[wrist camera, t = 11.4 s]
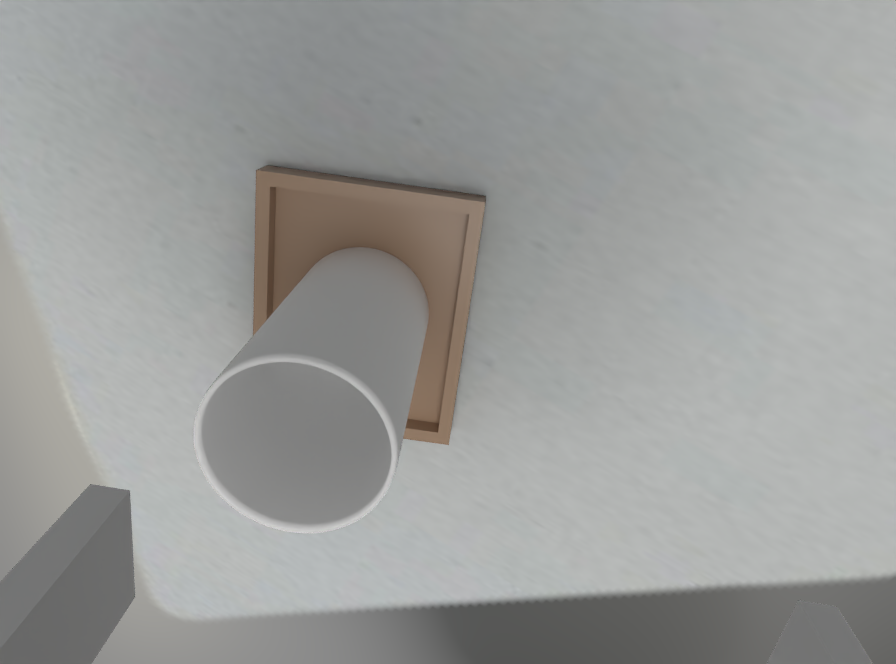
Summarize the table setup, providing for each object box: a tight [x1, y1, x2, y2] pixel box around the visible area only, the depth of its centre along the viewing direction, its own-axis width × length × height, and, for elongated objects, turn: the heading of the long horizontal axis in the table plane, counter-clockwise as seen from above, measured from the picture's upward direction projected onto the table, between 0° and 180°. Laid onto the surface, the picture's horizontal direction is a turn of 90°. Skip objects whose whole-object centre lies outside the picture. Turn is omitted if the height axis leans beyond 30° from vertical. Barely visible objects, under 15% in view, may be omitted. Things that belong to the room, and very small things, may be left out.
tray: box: [253, 165, 486, 445], centre depth 40 cm, size 16×13×2 cm
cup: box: [193, 247, 429, 533], centre depth 33 cm, size 8×8×16 cm
